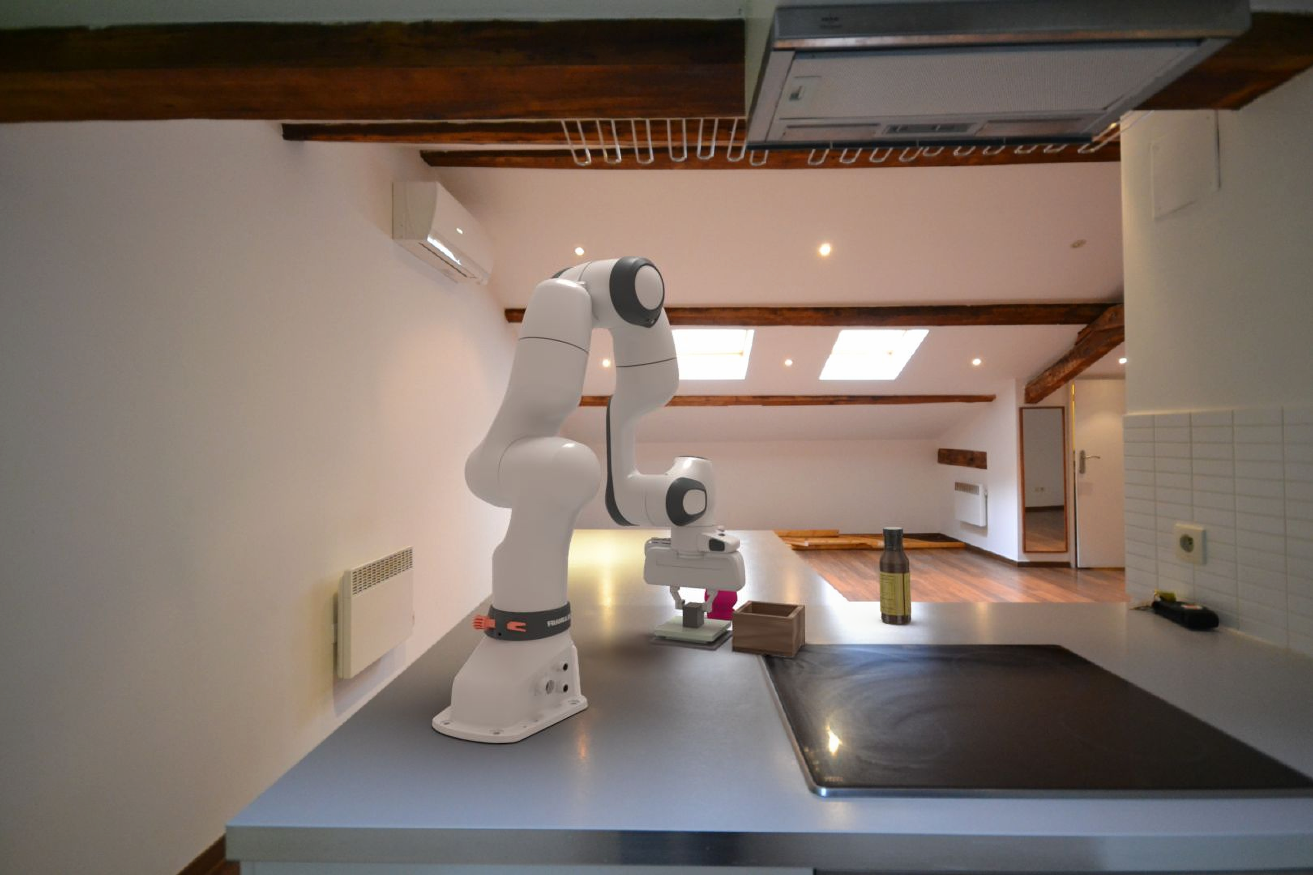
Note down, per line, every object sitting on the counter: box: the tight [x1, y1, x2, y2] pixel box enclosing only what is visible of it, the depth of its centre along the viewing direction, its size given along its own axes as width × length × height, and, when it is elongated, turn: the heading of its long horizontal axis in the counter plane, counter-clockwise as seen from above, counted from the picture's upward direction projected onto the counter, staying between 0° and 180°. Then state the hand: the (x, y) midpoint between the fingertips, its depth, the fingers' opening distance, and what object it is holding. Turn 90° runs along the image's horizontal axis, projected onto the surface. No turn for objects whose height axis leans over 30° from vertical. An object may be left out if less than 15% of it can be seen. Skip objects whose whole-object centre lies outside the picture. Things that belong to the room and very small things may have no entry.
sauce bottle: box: [878, 526, 912, 626], centre depth 149 cm, size 6×6×20 cm
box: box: [731, 600, 806, 658], centre depth 131 cm, size 11×11×7 cm
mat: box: [649, 629, 732, 652], centre depth 137 cm, size 13×13×1 cm
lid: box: [653, 601, 732, 643], centre depth 137 cm, size 12×12×6 cm
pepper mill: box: [703, 525, 739, 622], centre depth 152 cm, size 7×7×20 cm
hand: (693, 610), depth 137 cm, fingers open, 4 cm apart
